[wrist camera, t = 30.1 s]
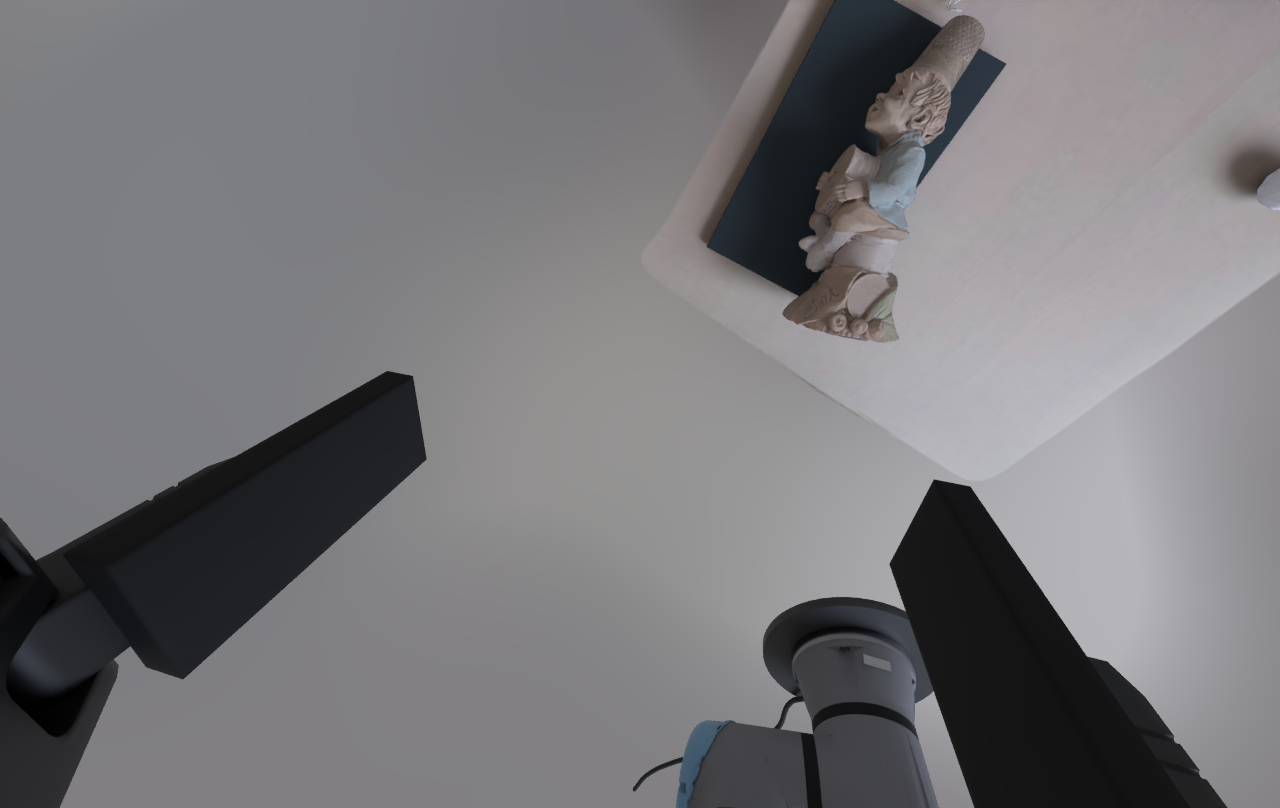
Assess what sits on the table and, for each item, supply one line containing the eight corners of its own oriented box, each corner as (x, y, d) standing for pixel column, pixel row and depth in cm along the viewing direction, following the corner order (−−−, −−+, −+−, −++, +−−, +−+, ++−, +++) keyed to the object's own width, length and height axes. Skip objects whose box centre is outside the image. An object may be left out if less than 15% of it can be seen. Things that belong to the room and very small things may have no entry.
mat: (825, 308, 40) (827, 311, 39) (707, 244, 40) (706, 246, 39) (999, 66, 30) (1006, 63, 30) (845, -20, 30) (848, -26, 29)
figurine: (863, 316, 40) (983, 30, 30) (910, 356, 33) (1091, -4, 22) (765, 302, 39) (854, 5, 29) (792, 340, 32) (922, -37, 22)
